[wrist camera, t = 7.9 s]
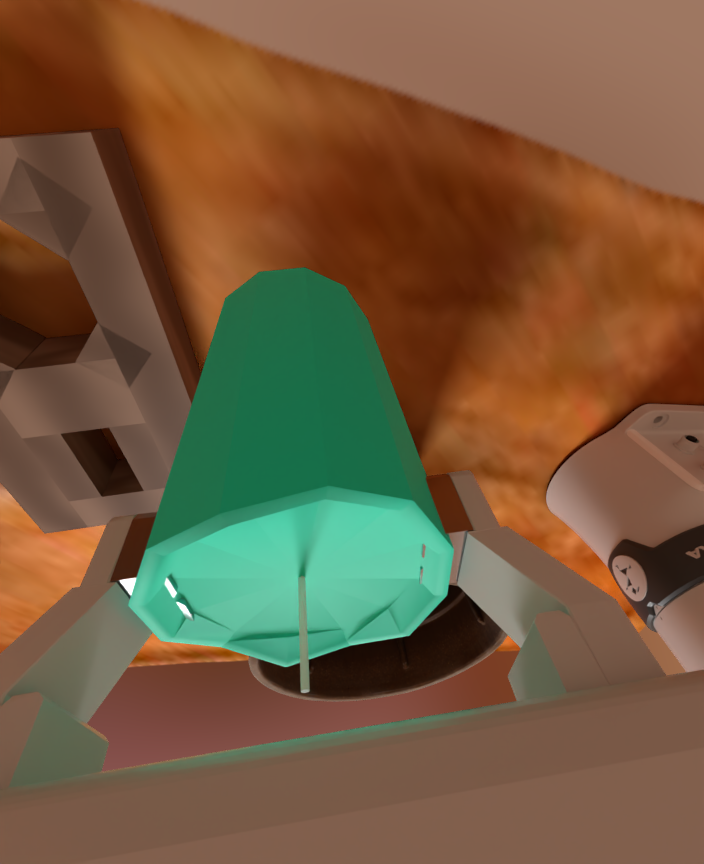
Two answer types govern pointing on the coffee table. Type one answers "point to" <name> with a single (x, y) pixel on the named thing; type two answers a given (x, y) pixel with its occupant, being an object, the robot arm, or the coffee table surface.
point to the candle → (293, 488)
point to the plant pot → (395, 657)
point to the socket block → (91, 340)
